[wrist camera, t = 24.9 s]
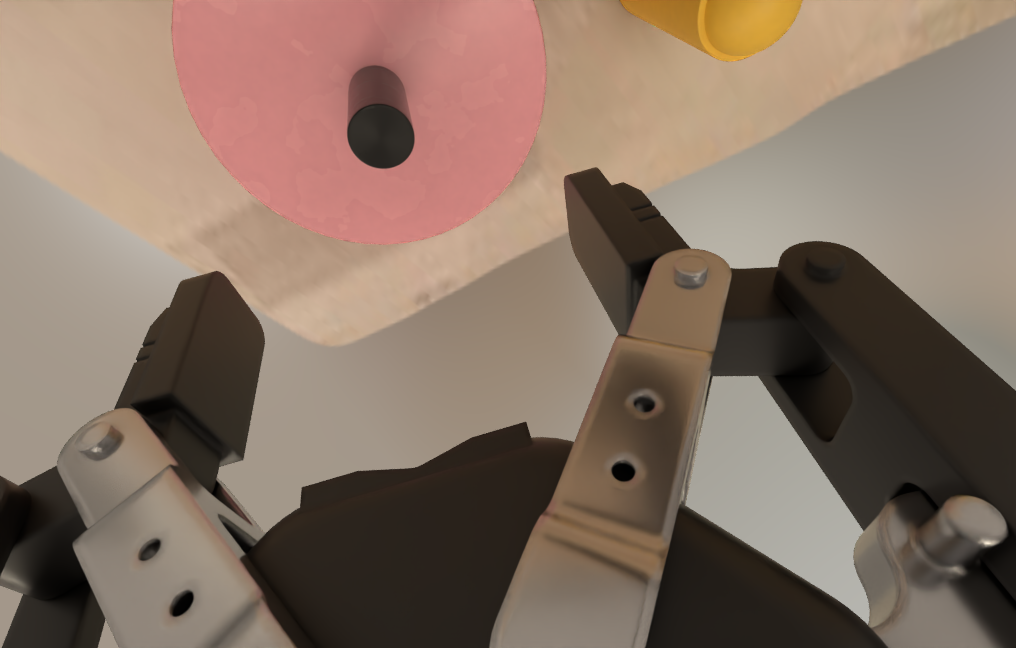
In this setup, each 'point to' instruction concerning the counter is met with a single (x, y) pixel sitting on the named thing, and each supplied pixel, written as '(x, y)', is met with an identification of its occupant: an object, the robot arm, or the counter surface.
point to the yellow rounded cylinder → (720, 23)
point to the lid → (365, 106)
